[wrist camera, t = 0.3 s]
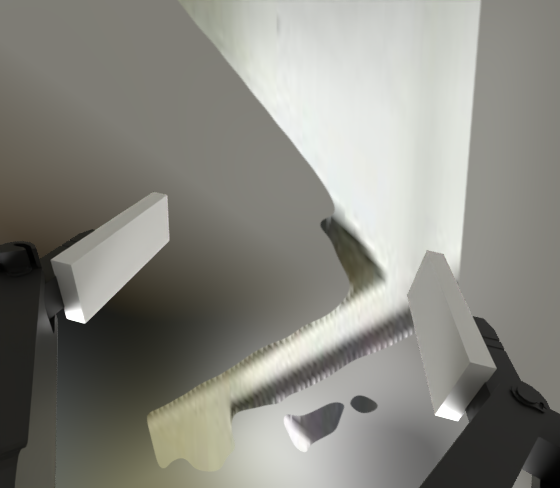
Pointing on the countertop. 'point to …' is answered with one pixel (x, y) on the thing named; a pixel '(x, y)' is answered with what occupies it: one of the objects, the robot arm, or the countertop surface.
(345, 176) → the countertop surface
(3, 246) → the robot arm
